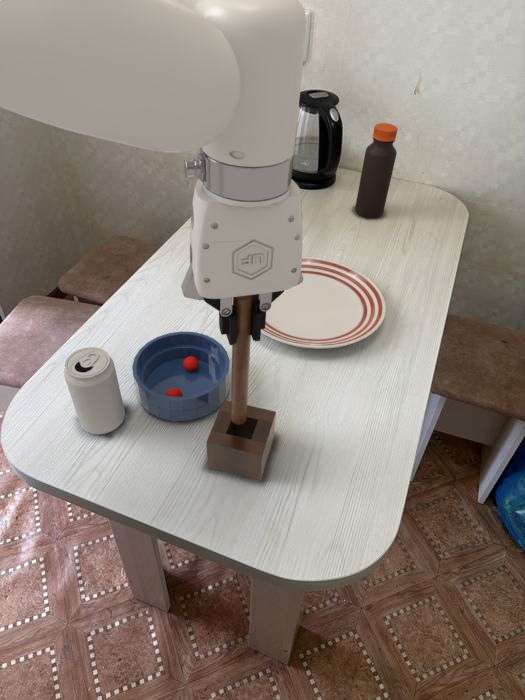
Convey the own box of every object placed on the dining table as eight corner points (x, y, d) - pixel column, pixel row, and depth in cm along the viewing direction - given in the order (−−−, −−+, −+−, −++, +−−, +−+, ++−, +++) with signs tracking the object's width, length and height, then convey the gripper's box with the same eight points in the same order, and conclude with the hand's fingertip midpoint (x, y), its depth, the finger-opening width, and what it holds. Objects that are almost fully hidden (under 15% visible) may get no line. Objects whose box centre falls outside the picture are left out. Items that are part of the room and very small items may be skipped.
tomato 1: (164, 405, 75) (162, 394, 73) (170, 393, 77) (169, 383, 75) (179, 409, 74) (178, 398, 73) (185, 397, 76) (184, 386, 75)
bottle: (350, 213, 121) (365, 128, 107) (361, 202, 125) (377, 119, 111) (376, 222, 118) (395, 135, 105) (387, 210, 123) (406, 126, 109)
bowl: (121, 412, 75) (115, 387, 71) (159, 348, 85) (155, 323, 81) (212, 434, 72) (211, 409, 69) (240, 366, 82) (240, 341, 79)
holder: (207, 468, 68) (206, 442, 64) (224, 426, 74) (223, 399, 69) (260, 481, 67) (262, 455, 63) (273, 438, 72) (276, 411, 68)
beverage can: (71, 428, 72) (50, 370, 64) (98, 397, 76) (81, 339, 68) (109, 443, 71) (93, 385, 62) (134, 410, 75) (122, 352, 67)
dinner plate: (263, 255, 106) (264, 241, 104) (393, 285, 100) (397, 271, 98) (210, 336, 87) (210, 322, 85) (366, 379, 81) (370, 365, 79)
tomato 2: (181, 372, 80) (180, 362, 78) (187, 362, 81) (186, 351, 80) (196, 375, 79) (195, 365, 78) (201, 365, 81) (200, 354, 79)
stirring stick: (229, 422, 64) (230, 297, 50) (233, 410, 66) (236, 286, 52) (244, 426, 64) (249, 301, 50) (248, 414, 65) (255, 289, 52)
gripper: (156, 198, 38) (173, 370, 50) (352, 183, 41) (322, 347, 54) (146, 157, 43) (163, 322, 56) (320, 147, 47) (299, 304, 59)
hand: (241, 333), depth 55 cm, fingers closed on stirring stick, 2 cm apart
